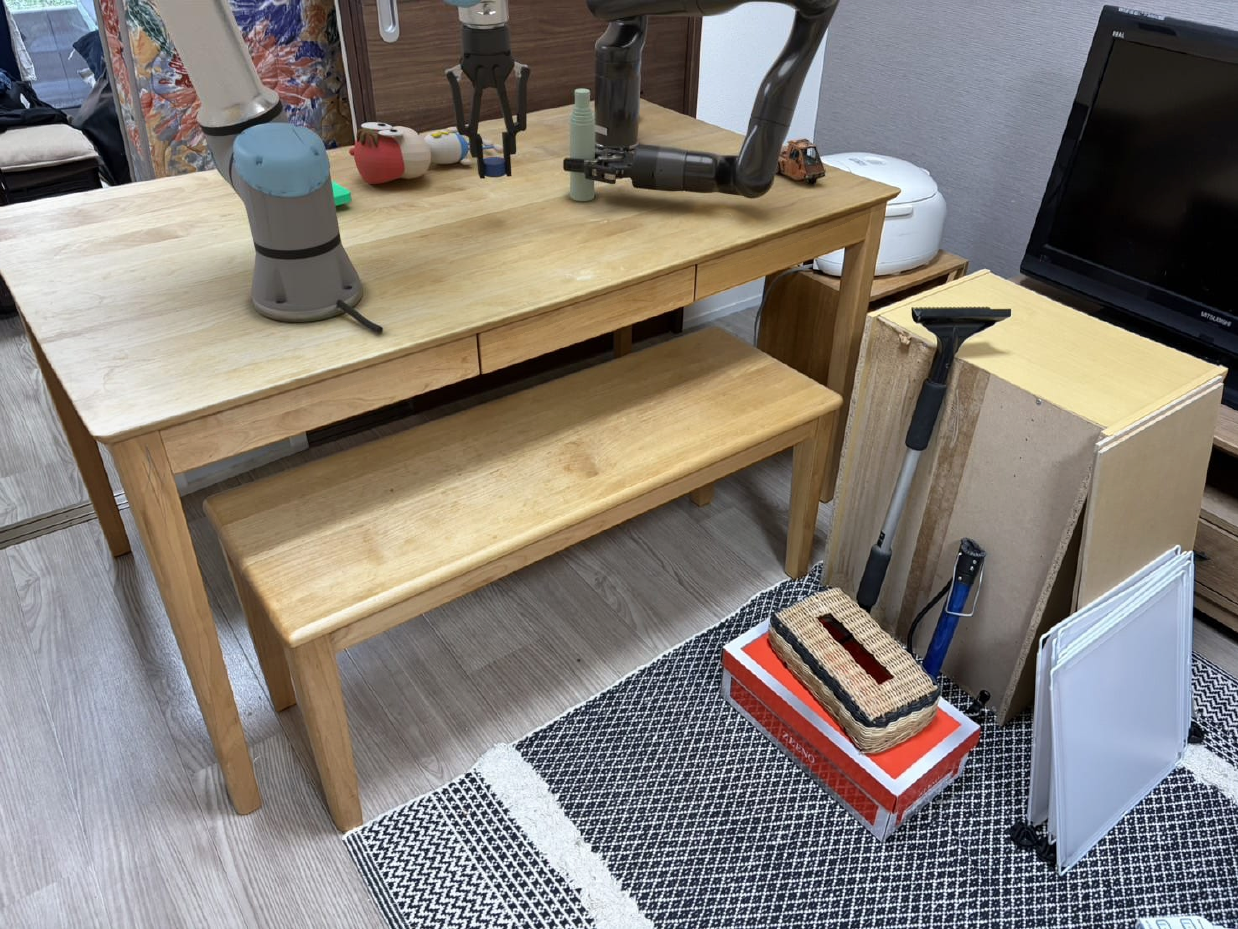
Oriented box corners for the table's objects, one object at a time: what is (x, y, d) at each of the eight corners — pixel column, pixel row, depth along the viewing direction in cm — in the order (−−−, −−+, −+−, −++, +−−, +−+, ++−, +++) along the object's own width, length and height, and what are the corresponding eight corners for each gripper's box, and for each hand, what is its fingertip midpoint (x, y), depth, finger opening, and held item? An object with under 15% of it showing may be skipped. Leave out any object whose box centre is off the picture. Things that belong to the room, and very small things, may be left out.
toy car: (784, 164, 186) (788, 129, 182) (830, 182, 178) (836, 146, 174) (762, 170, 183) (766, 135, 178) (807, 189, 175) (813, 152, 171)
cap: (483, 169, 156) (482, 156, 155) (506, 169, 157) (505, 156, 155) (482, 177, 153) (481, 164, 152) (506, 177, 154) (505, 164, 152)
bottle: (598, 194, 171) (599, 89, 159) (588, 202, 167) (588, 95, 156) (576, 190, 172) (576, 85, 161) (566, 198, 169) (565, 91, 157)
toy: (520, 129, 175) (365, 133, 160) (519, 183, 180) (369, 192, 165) (478, 113, 188) (332, 115, 173) (478, 164, 193) (336, 170, 178)
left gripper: (431, 31, 136) (447, 186, 150) (543, 26, 140) (548, 178, 154) (426, 20, 142) (441, 170, 156) (534, 15, 146) (539, 163, 160)
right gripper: (668, 134, 167) (576, 126, 169) (655, 160, 156) (556, 151, 158) (666, 175, 171) (576, 167, 174) (653, 203, 160) (557, 193, 163)
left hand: (494, 174), depth 155 cm, fingers closed on cap, 4 cm apart
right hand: (567, 159), depth 166 cm, fingers closed on bottle, 4 cm apart
